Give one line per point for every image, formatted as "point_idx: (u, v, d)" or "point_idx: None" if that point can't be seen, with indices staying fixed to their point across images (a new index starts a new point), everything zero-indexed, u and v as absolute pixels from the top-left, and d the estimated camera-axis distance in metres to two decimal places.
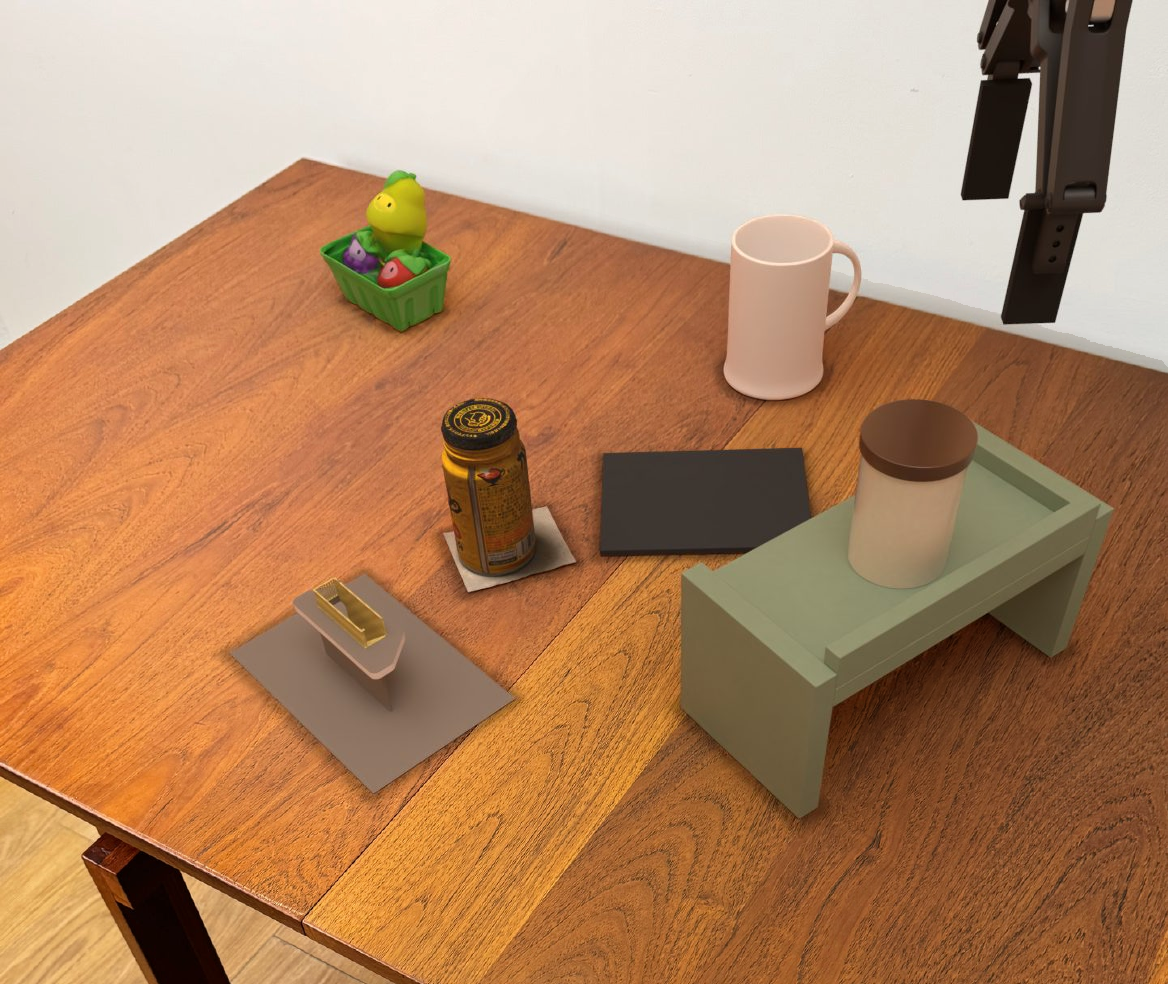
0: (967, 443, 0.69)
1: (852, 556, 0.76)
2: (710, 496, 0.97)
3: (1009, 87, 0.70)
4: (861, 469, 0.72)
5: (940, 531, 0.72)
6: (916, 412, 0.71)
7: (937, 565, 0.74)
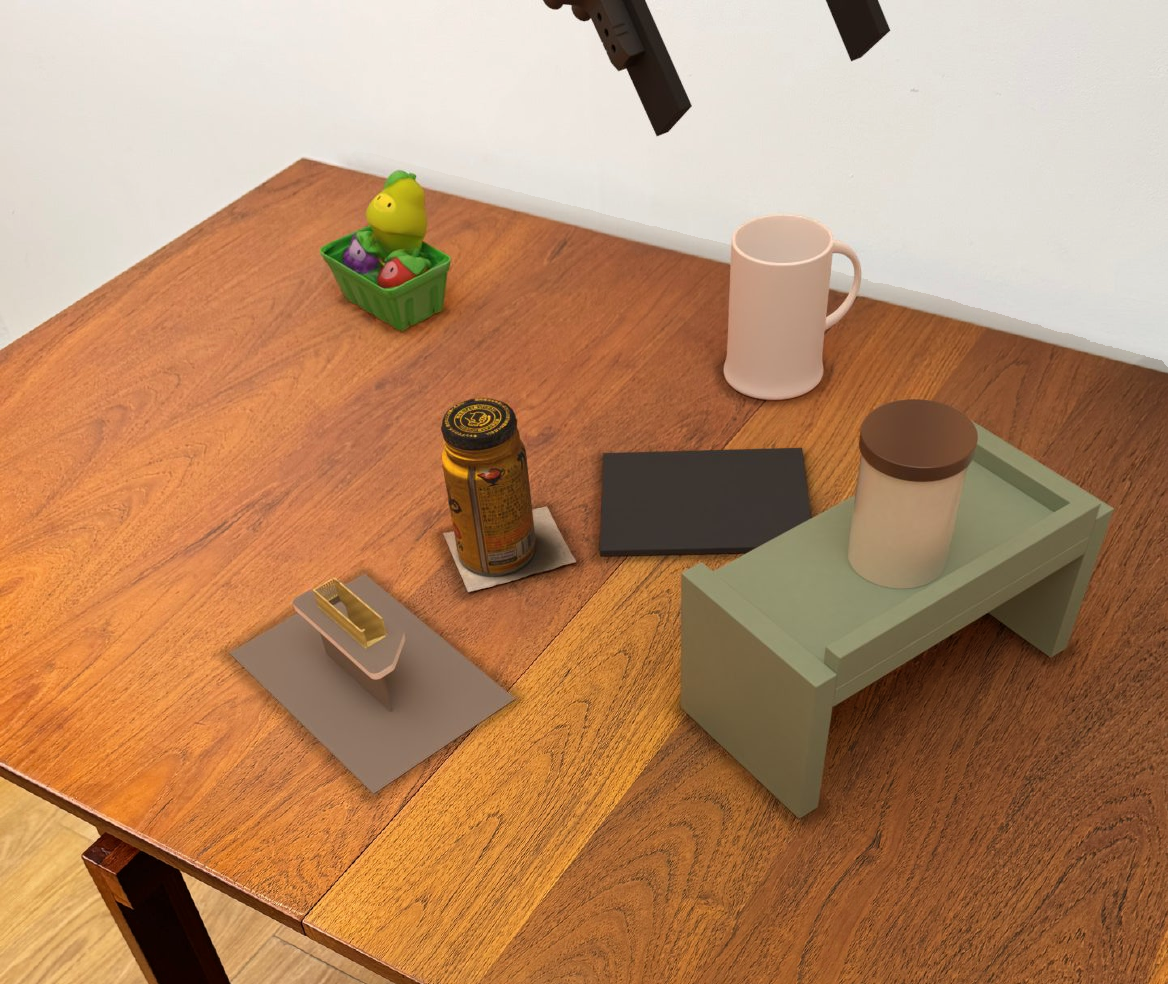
0: (967, 443, 0.69)
1: (852, 556, 0.76)
2: (710, 496, 0.97)
3: None
4: (861, 469, 0.72)
5: (940, 531, 0.72)
6: (916, 412, 0.71)
7: (937, 565, 0.74)
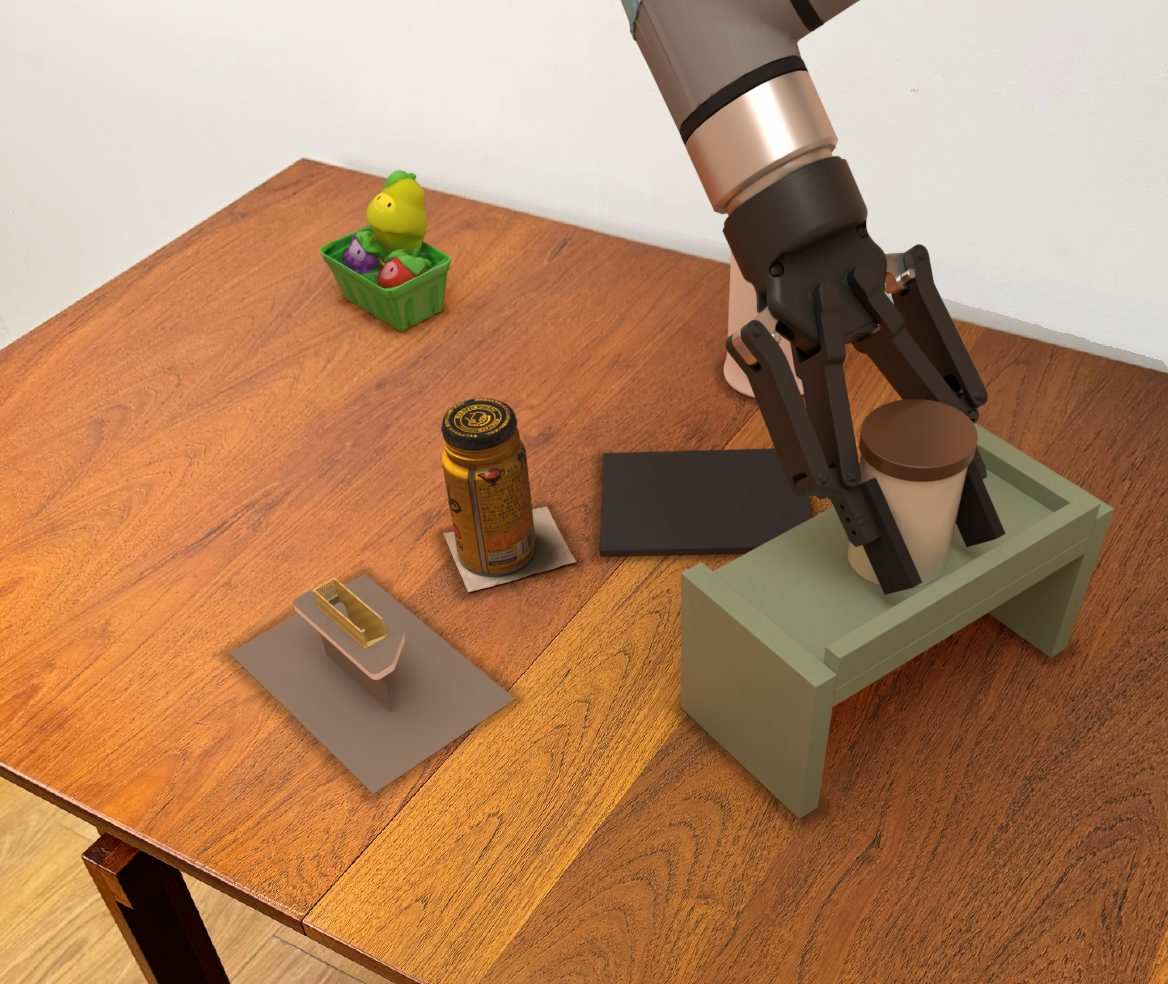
0: (967, 443, 0.69)
1: (852, 556, 0.76)
2: (710, 496, 0.97)
3: None
4: (861, 469, 0.72)
5: (940, 531, 0.72)
6: (916, 412, 0.71)
7: (937, 565, 0.74)
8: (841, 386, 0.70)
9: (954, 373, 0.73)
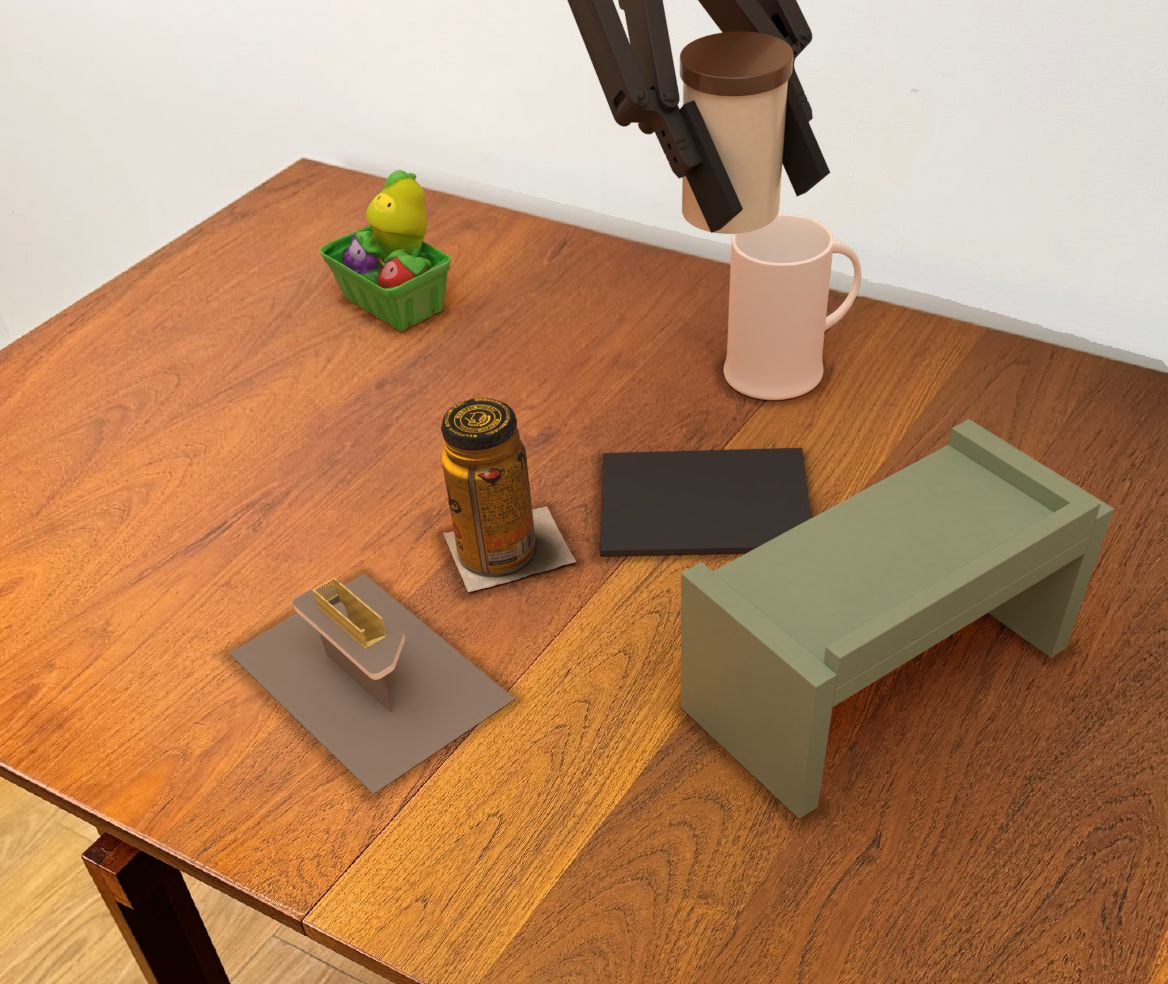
0: (781, 60, 0.70)
1: (684, 206, 0.77)
2: (710, 496, 0.97)
3: None
4: (683, 98, 0.73)
5: (763, 163, 0.73)
6: (736, 40, 0.72)
7: (765, 208, 0.75)
8: (659, 7, 0.71)
9: (778, 11, 0.74)
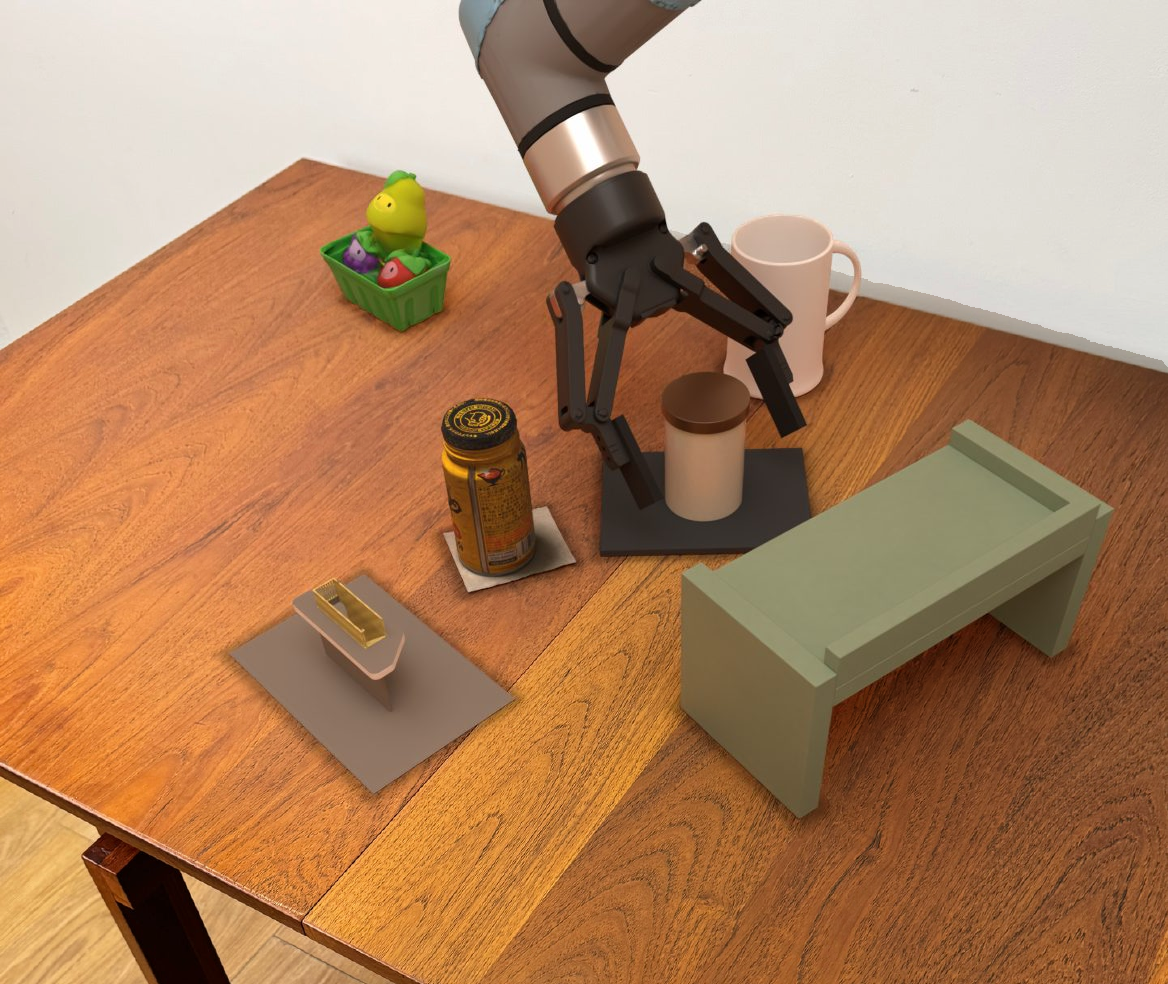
0: (741, 404, 0.90)
1: (666, 496, 0.97)
2: None
3: (755, 355, 0.94)
4: (664, 426, 0.92)
5: (727, 475, 0.93)
6: (706, 381, 0.92)
7: (730, 502, 0.95)
8: (619, 347, 0.89)
9: (762, 307, 0.94)
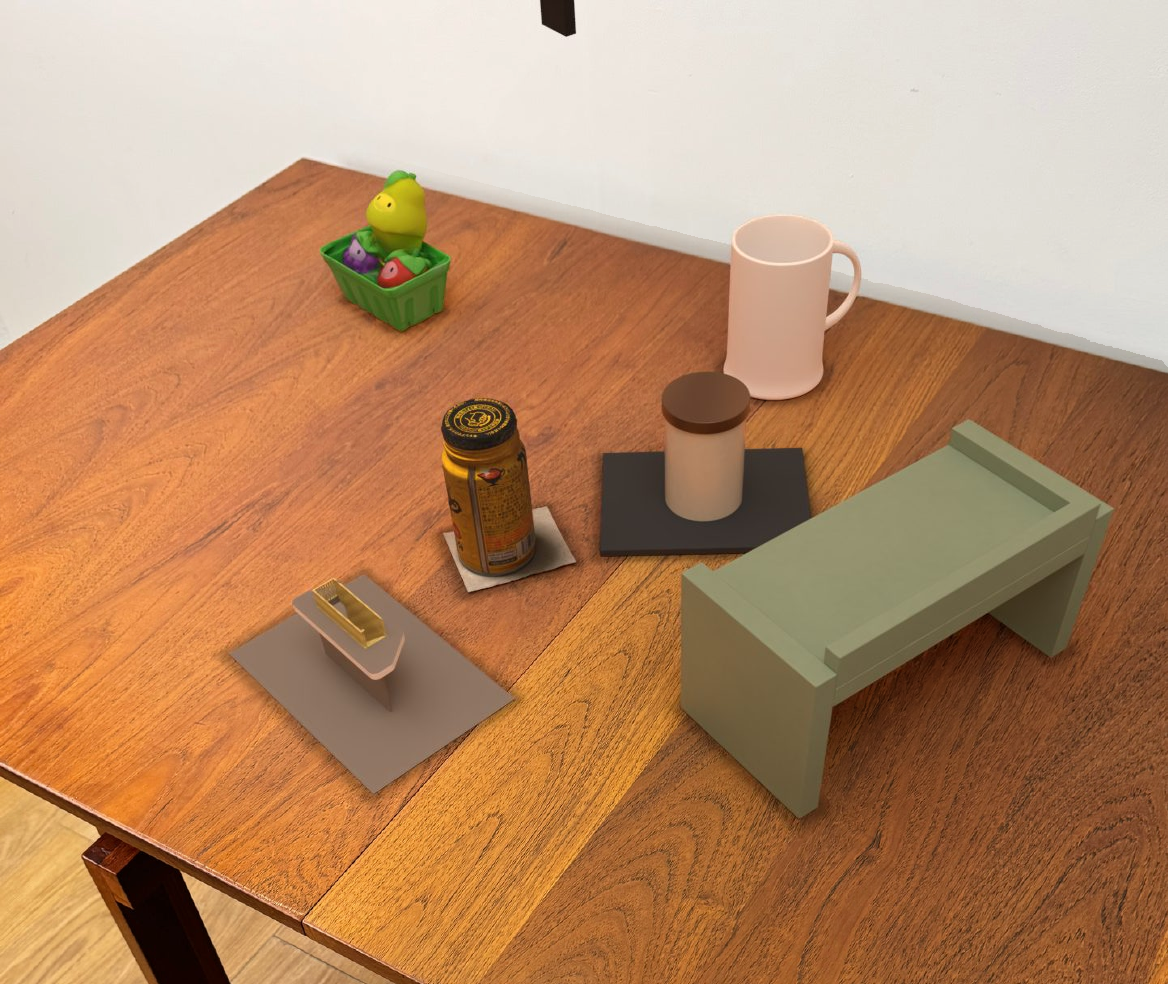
0: (741, 404, 0.90)
1: (666, 496, 0.97)
2: None
3: None
4: (664, 426, 0.92)
5: (727, 475, 0.93)
6: (706, 381, 0.92)
7: (730, 502, 0.95)
8: None
9: None
